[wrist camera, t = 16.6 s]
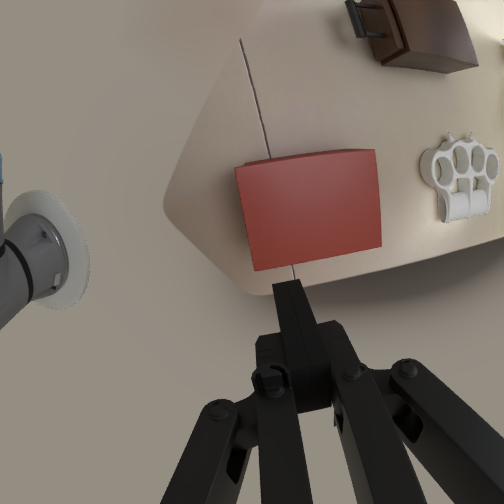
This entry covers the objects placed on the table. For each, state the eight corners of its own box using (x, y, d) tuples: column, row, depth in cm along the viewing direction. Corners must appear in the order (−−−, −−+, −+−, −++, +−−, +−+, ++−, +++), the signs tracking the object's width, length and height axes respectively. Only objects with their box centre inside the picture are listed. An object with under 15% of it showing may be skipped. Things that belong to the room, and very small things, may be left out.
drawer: (349, 59, 30) (368, 44, 24) (332, 2, 26) (345, -19, 20) (439, 68, 29) (464, 60, 23) (422, 15, 26) (443, 2, 19)
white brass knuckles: (422, 223, 39) (414, 132, 34) (489, 208, 38) (485, 131, 33) (433, 228, 36) (426, 131, 31) (500, 213, 35) (497, 132, 30)
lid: (254, 269, 32) (254, 271, 32) (234, 167, 28) (234, 168, 28) (379, 244, 32) (381, 246, 31) (371, 149, 28) (375, 149, 27)
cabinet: (381, 66, 31) (410, 51, 23) (362, 4, 27) (384, -20, 19) (447, 73, 30) (479, 66, 22) (429, 16, 26) (456, 1, 18)
